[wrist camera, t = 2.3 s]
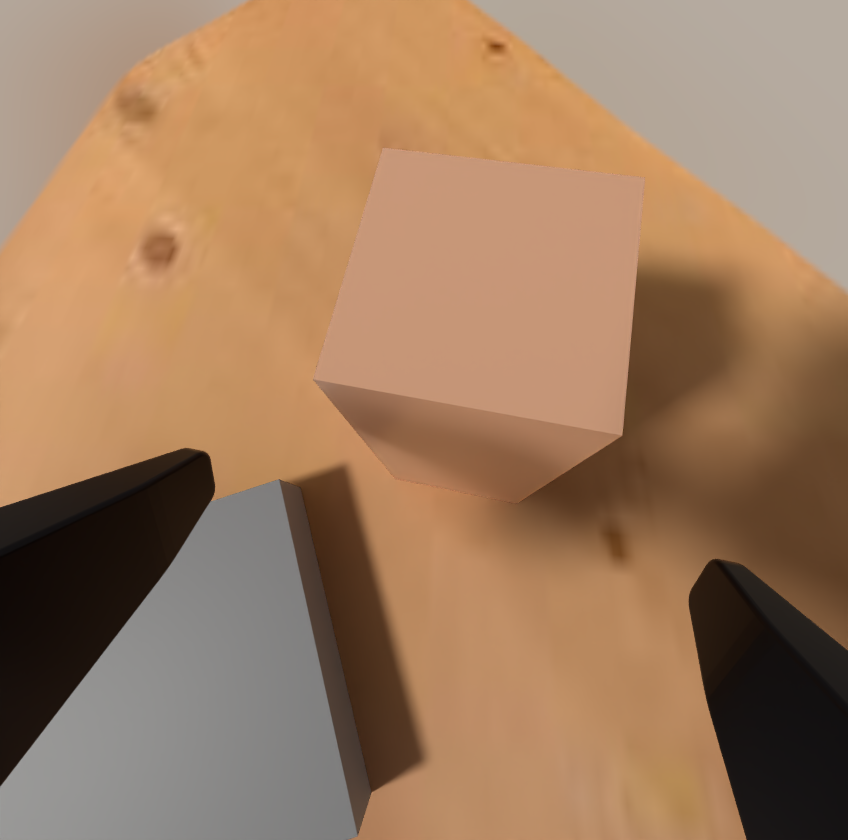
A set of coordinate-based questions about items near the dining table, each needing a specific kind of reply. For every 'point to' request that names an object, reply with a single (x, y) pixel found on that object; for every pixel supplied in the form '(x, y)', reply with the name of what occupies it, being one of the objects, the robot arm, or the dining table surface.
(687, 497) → the dining table surface
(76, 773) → the flat gray slab
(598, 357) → the tan rectangular block
